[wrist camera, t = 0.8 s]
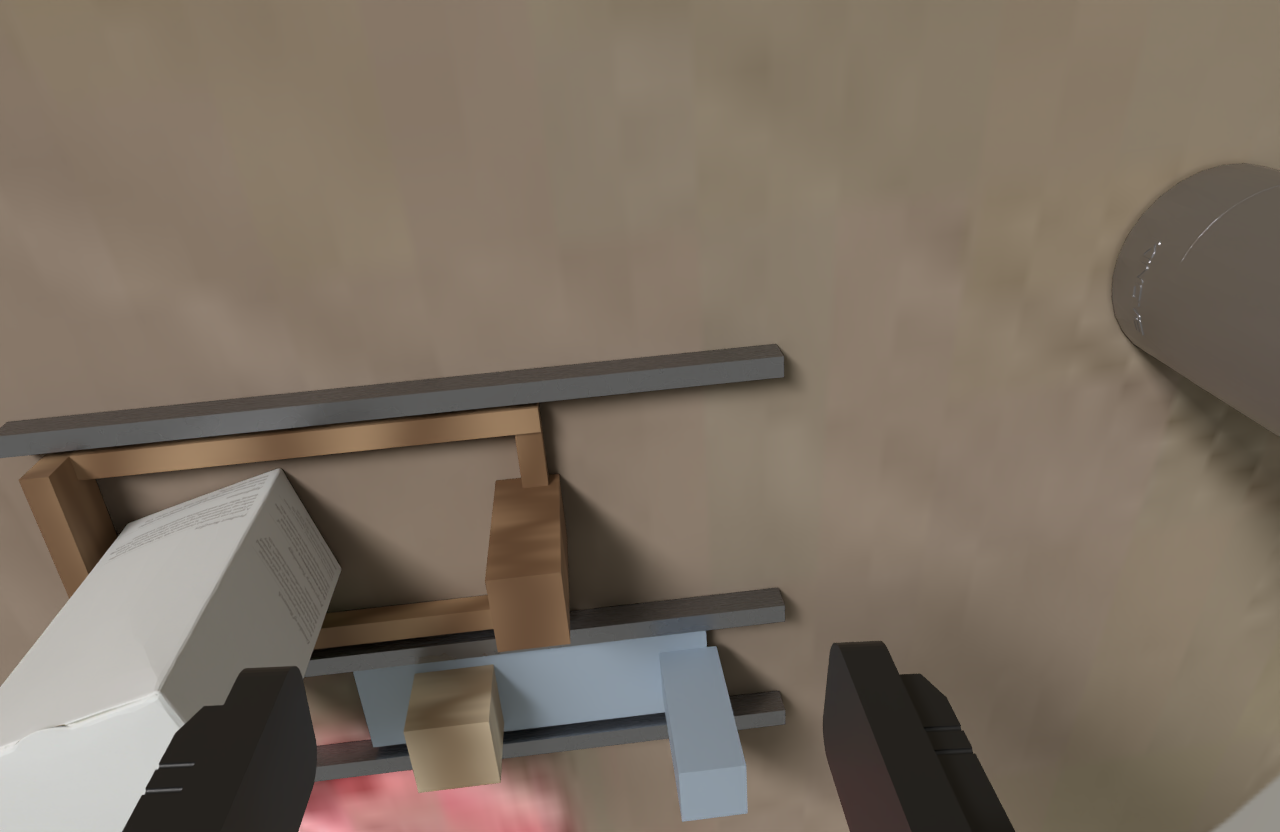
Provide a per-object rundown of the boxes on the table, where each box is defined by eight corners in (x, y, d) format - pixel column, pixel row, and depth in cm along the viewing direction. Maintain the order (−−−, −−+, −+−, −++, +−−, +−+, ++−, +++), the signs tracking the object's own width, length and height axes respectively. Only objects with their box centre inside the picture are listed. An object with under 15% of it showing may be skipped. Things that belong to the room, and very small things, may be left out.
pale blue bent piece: (712, 616, 48) (745, 746, 40) (715, 692, 50) (747, 830, 42) (356, 658, 47) (316, 799, 39) (376, 733, 49) (342, 881, 41)
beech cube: (493, 664, 47) (488, 721, 43) (504, 722, 48) (500, 782, 45) (414, 673, 46) (403, 731, 43) (428, 731, 48) (418, 792, 45)
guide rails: (776, 343, 41) (783, 356, 40) (779, 704, 51) (785, 724, 50) (7, 421, 40) (-12, 437, 38) (157, 779, 49) (146, 801, 48)
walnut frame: (549, 395, 42) (548, 482, 34) (575, 604, 47) (580, 718, 40) (54, 446, 40) (-53, 547, 33) (137, 654, 46) (60, 781, 38)
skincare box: (194, 620, 45) (34, 908, 31) (118, 513, 42) (-95, 779, 28) (351, 567, 45) (260, 836, 31) (285, 455, 42) (151, 696, 28)
